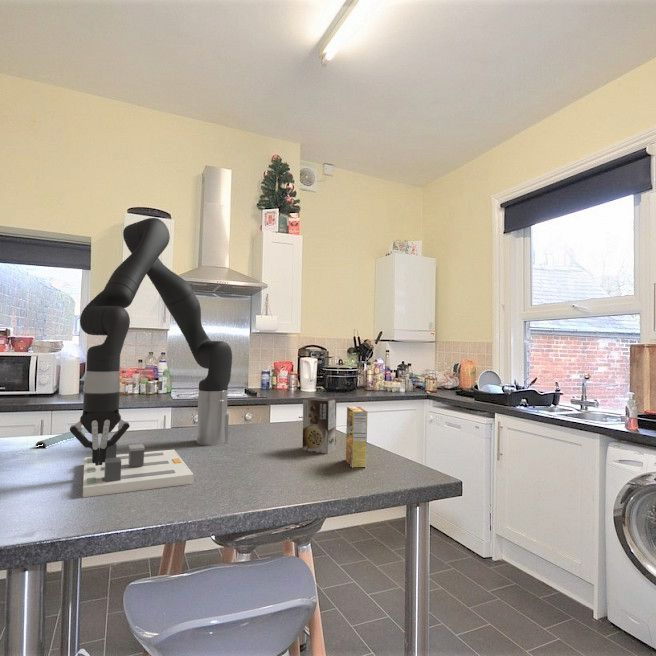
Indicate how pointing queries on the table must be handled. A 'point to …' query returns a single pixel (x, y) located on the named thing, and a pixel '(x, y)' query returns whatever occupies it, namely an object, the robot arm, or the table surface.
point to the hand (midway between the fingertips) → (98, 464)
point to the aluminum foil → (59, 438)
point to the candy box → (356, 436)
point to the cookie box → (319, 424)
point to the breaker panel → (134, 473)
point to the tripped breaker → (136, 455)
